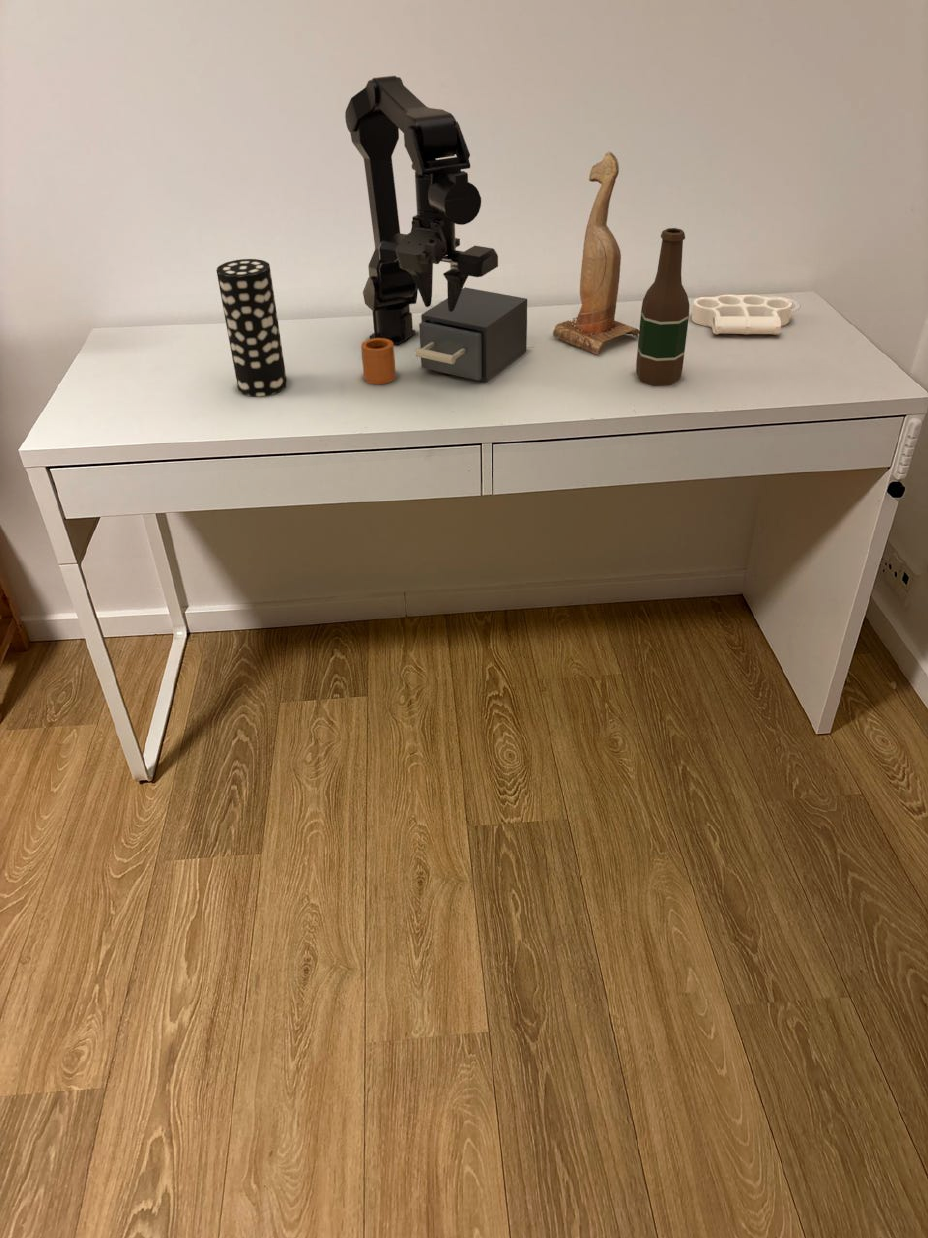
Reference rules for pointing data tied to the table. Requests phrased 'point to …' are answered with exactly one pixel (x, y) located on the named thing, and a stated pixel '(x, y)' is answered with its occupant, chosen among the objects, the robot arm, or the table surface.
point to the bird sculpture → (598, 272)
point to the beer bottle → (664, 317)
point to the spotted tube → (252, 326)
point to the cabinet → (488, 325)
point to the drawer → (451, 349)
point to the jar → (378, 360)
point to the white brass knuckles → (742, 314)
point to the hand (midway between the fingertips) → (439, 308)
